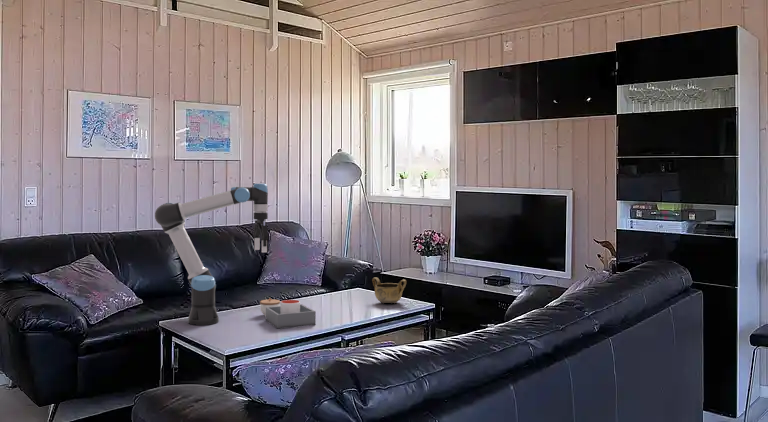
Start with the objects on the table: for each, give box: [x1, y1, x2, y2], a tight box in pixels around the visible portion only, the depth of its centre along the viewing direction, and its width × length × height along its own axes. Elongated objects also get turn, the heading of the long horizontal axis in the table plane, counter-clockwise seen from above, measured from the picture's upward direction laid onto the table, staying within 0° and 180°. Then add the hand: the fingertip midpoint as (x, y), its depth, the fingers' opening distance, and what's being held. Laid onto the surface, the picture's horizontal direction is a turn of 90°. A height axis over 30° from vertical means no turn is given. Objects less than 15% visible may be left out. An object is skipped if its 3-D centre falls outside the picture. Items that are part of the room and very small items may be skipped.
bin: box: [265, 303, 317, 330], centre depth 338 cm, size 20×20×7 cm
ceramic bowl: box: [371, 277, 407, 304], centre depth 391 cm, size 22×17×15 cm
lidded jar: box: [259, 297, 281, 317], centre depth 355 cm, size 11×11×9 cm
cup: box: [280, 299, 301, 314], centre depth 338 cm, size 10×10×10 cm
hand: (260, 251), depth 356 cm, fingers open, 13 cm apart
